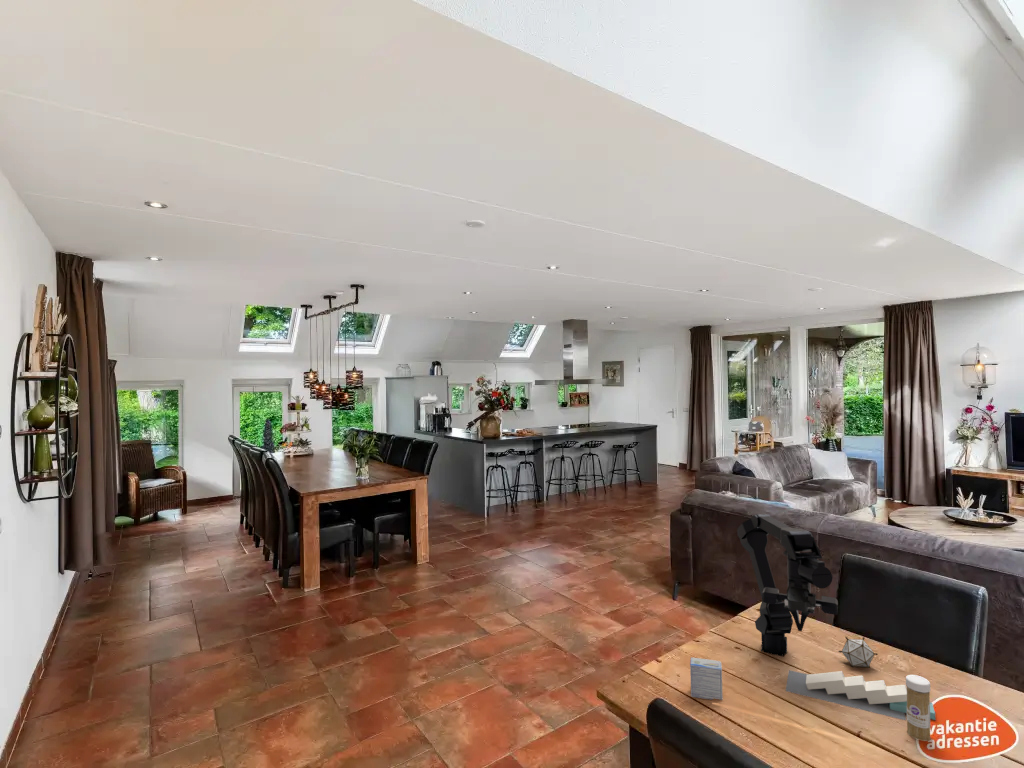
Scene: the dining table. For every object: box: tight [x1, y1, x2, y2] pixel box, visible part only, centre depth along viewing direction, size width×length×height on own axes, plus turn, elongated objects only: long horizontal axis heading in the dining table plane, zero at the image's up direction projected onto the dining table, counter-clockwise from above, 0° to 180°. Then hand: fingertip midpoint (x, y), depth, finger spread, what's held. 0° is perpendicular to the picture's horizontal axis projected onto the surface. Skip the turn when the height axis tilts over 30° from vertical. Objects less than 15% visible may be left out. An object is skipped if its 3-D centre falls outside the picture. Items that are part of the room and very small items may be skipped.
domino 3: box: [846, 679, 888, 699], centre depth 140 cm, size 2×5×9 cm
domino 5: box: [889, 701, 936, 721], centre depth 135 cm, size 2×5×9 cm
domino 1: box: [806, 670, 846, 690], centre depth 145 cm, size 2×5×9 cm
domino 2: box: [826, 675, 866, 694], centre depth 142 cm, size 2×5×9 cm
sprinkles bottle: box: [905, 674, 932, 742], centre depth 125 cm, size 5×5×14 cm
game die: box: [838, 635, 879, 668], centre depth 157 cm, size 9×8×10 cm
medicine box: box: [689, 657, 724, 701], centre depth 144 cm, size 8×4×9 cm, turn 71°
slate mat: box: [785, 669, 907, 721], centre depth 143 cm, size 26×12×1 cm, turn 59°
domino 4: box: [867, 684, 907, 704], centre depth 138 cm, size 2×5×9 cm
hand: (799, 630), depth 153 cm, fingers closed
